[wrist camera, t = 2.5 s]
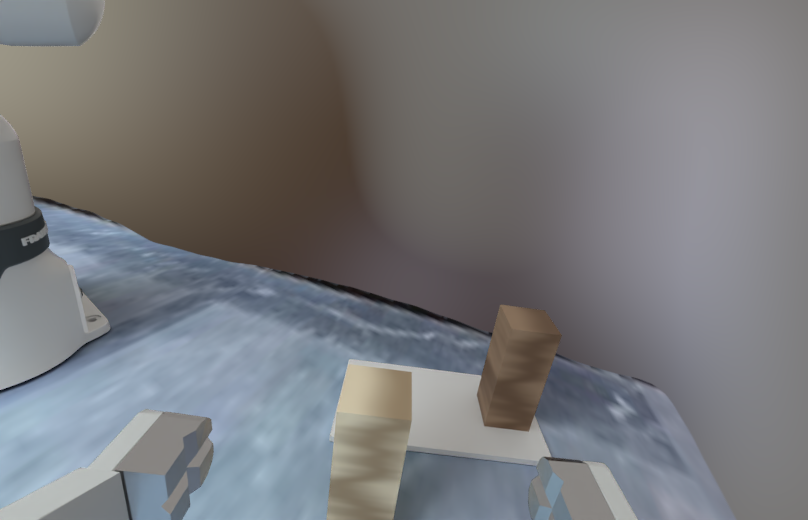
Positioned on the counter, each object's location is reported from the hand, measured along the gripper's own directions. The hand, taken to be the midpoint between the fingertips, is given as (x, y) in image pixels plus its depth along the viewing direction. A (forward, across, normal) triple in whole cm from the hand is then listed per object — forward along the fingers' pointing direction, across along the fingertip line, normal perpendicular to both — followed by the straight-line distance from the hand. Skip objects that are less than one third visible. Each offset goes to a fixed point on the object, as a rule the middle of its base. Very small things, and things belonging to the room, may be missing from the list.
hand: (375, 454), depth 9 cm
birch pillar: (+12, 0, +20) cm, 23 cm away
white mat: (+23, -6, +20) cm, 31 cm away
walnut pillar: (+23, -13, +19) cm, 33 cm away
